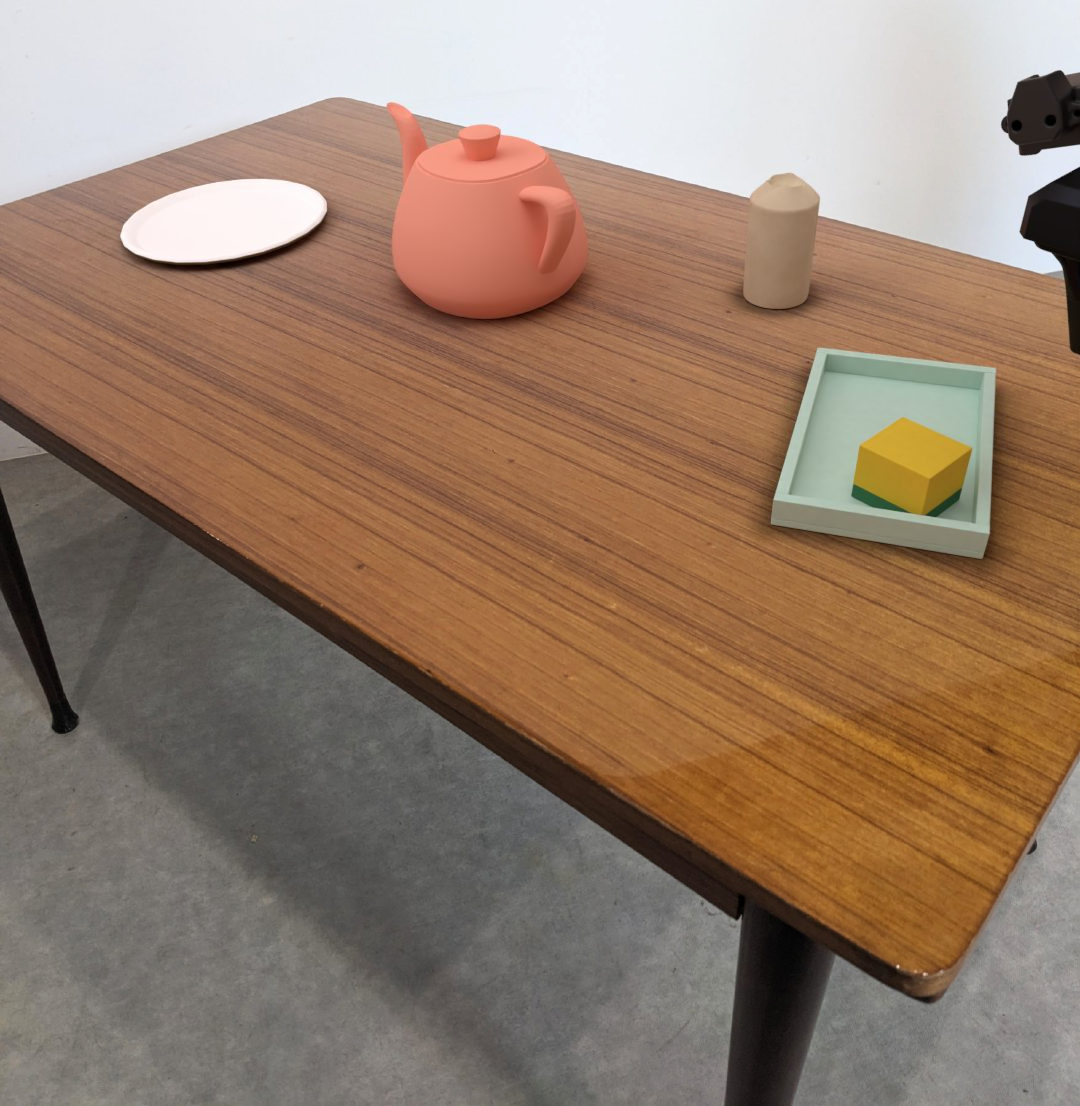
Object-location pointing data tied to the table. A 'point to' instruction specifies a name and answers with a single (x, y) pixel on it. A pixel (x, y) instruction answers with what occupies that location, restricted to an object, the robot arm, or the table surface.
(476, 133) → the teapot
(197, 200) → the plate
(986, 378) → the tray
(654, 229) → the table surface
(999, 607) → the table surface
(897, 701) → the table surface
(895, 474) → the sponge
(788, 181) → the candle
